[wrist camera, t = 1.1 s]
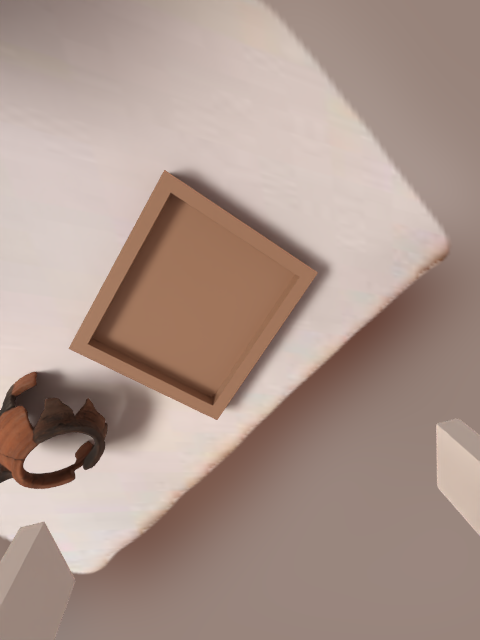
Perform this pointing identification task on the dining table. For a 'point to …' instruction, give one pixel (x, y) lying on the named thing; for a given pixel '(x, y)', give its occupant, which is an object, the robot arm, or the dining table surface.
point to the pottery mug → (45, 436)
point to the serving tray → (191, 300)
